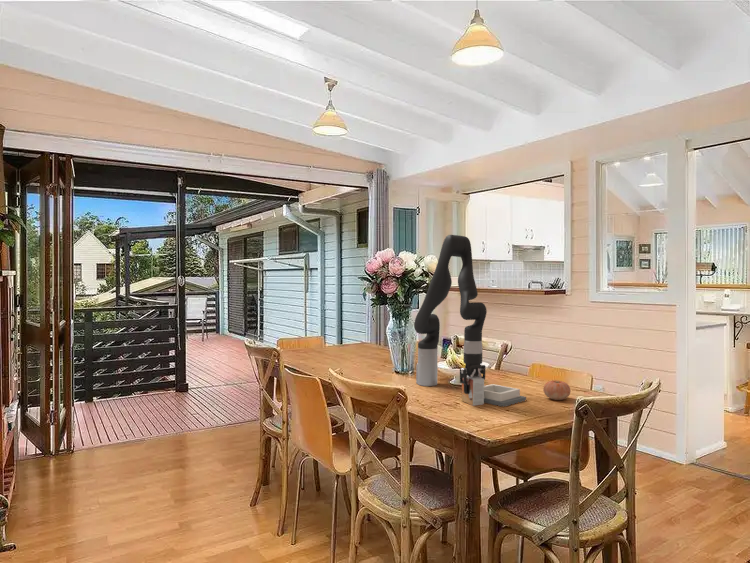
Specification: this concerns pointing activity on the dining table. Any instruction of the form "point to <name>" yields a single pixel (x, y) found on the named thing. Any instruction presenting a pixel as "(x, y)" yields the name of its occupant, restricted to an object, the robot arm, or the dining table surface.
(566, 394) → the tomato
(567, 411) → the dining table surface
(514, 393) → the socket board
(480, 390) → the small box
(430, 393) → the dining table surface
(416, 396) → the dining table surface
